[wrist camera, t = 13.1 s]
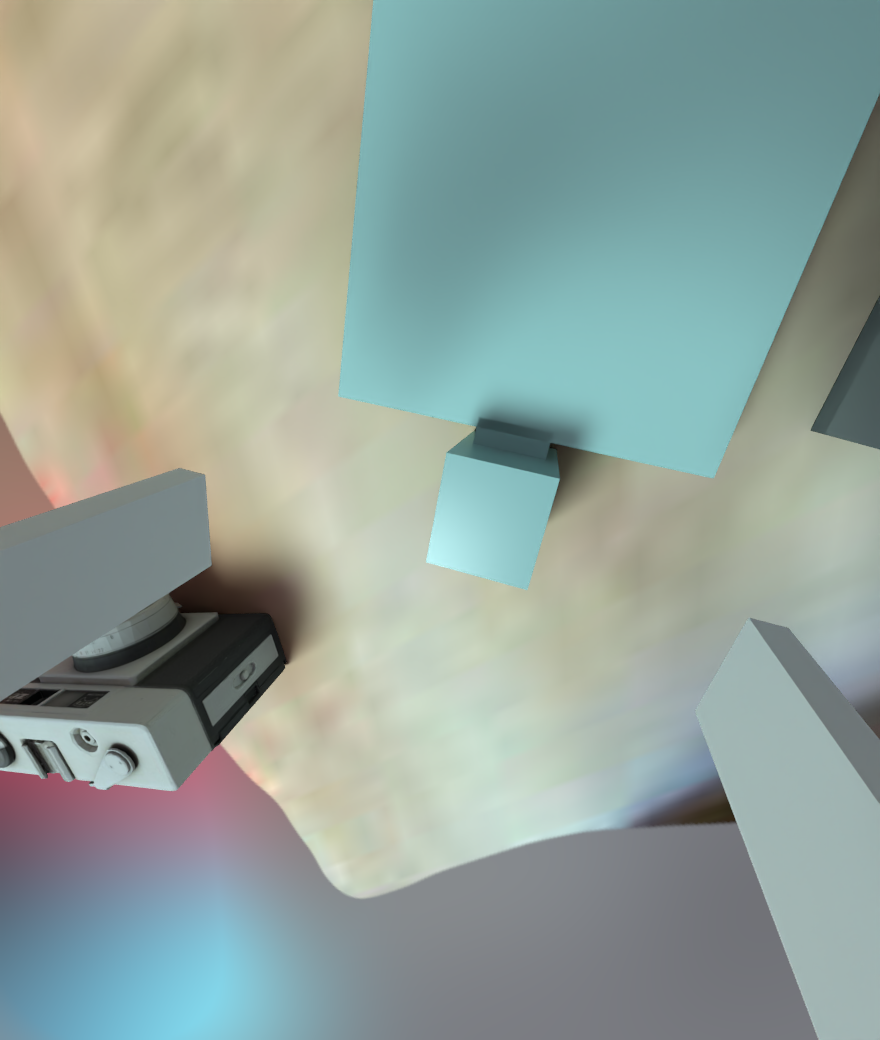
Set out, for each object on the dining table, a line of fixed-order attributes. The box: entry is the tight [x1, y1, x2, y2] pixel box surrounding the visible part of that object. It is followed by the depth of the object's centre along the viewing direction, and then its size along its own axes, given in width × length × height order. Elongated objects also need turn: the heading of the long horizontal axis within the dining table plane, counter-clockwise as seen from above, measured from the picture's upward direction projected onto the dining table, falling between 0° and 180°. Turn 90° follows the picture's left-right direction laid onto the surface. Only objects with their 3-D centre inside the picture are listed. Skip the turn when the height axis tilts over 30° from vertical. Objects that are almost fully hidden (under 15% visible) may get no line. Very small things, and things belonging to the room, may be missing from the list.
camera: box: [0, 594, 287, 791], centre depth 25 cm, size 14×8×10 cm, turn 100°
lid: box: [339, 0, 880, 590], centre depth 15 cm, size 23×15×6 cm, turn 170°
